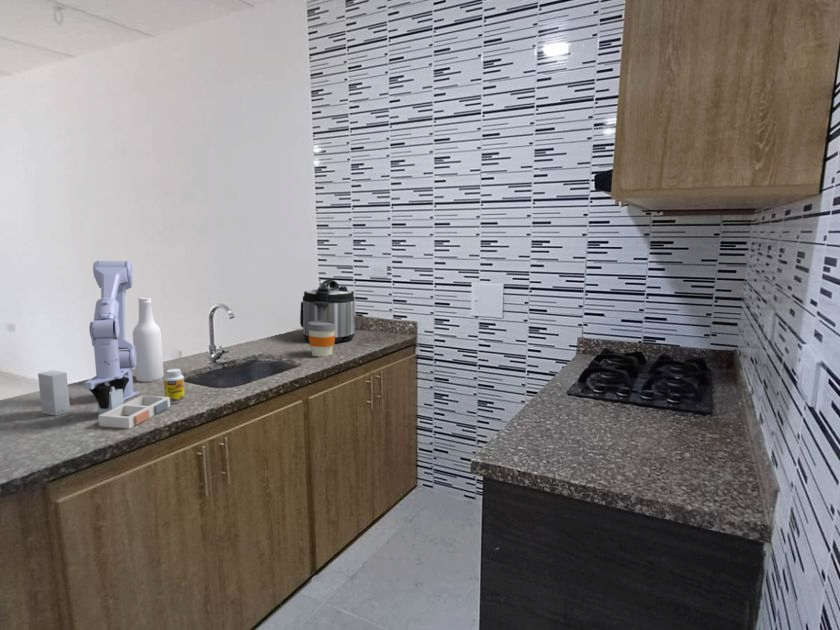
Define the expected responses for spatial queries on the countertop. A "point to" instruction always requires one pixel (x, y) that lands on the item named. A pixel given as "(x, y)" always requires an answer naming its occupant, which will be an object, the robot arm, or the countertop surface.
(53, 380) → the skincare box
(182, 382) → the supplement bottle
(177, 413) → the countertop surface
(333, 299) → the pressure cooker
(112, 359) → the robot arm
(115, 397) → the plug
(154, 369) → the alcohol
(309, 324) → the reusable coffee cup
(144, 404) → the white divided frame
